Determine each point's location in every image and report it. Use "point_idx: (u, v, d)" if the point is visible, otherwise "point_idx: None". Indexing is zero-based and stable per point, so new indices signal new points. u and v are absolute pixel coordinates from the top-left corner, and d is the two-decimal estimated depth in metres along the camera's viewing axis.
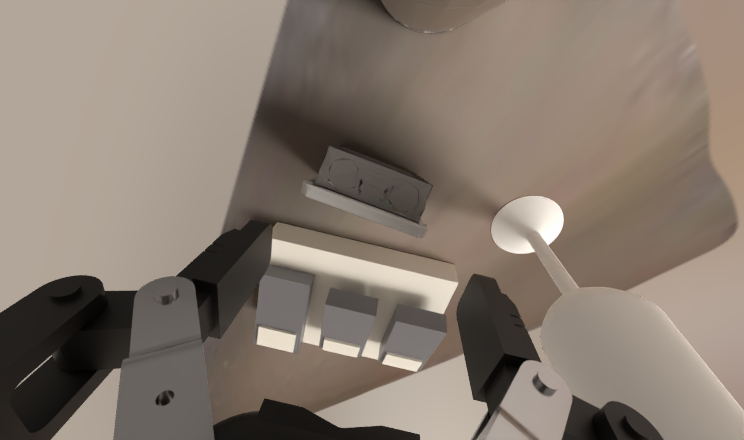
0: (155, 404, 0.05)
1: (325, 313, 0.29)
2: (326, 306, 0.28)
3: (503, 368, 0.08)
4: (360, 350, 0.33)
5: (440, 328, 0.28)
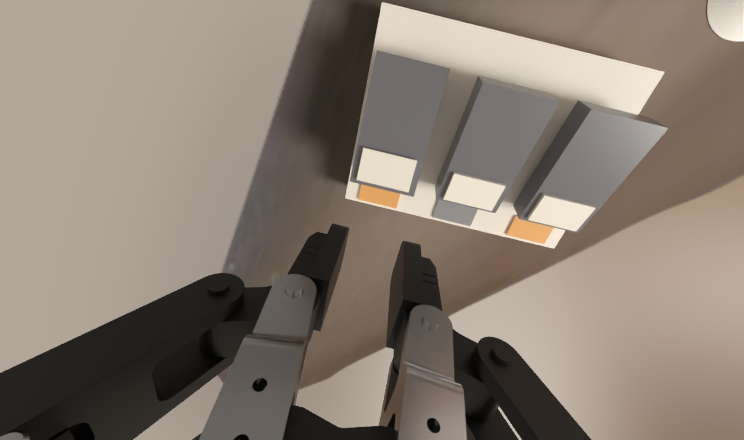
0: (252, 386, 0.05)
1: (475, 108, 0.19)
2: (483, 88, 0.18)
3: (405, 314, 0.09)
4: (501, 196, 0.23)
5: (655, 123, 0.19)
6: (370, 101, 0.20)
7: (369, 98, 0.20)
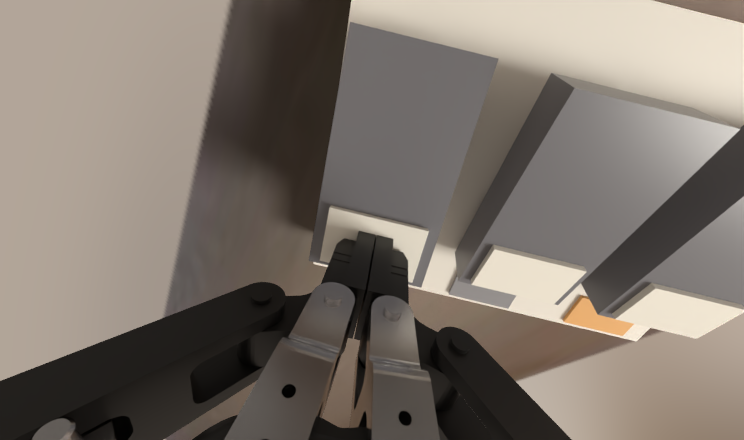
0: (282, 390, 0.05)
1: (549, 139, 0.09)
2: (574, 99, 0.09)
3: (370, 305, 0.09)
4: (573, 283, 0.13)
5: None
6: (340, 123, 0.11)
7: (338, 117, 0.11)
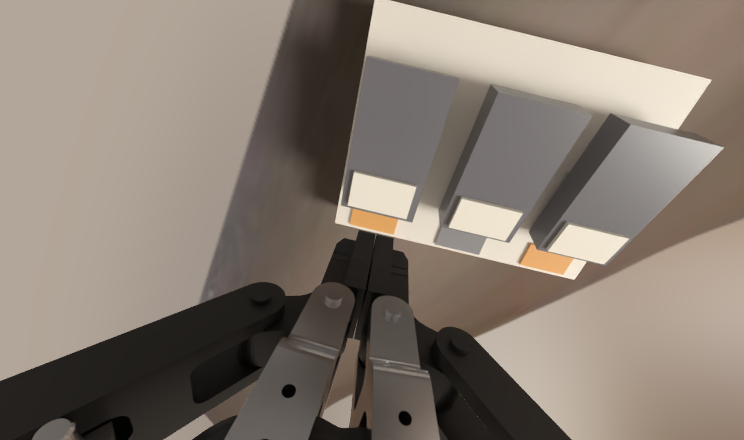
0: (281, 391, 0.05)
1: (488, 123, 0.16)
2: (499, 99, 0.15)
3: (371, 305, 0.09)
4: (516, 224, 0.19)
5: (707, 141, 0.15)
6: (360, 119, 0.17)
7: (359, 115, 0.17)
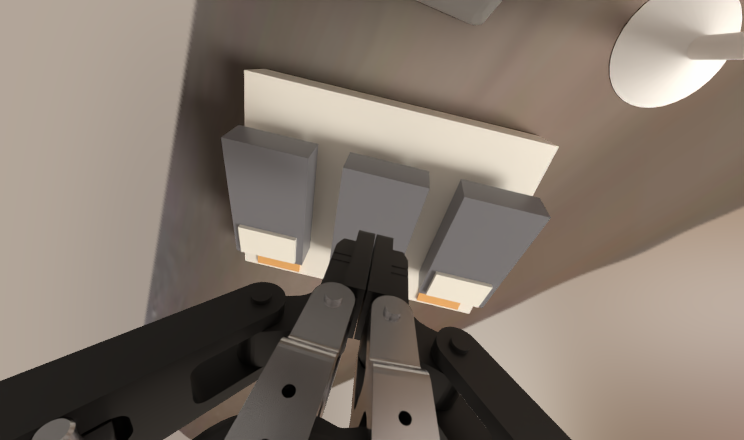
0: (282, 390, 0.05)
1: (342, 191, 0.17)
2: (345, 172, 0.16)
3: (370, 305, 0.09)
4: None
5: (538, 211, 0.17)
6: (232, 185, 0.18)
7: (230, 182, 0.18)
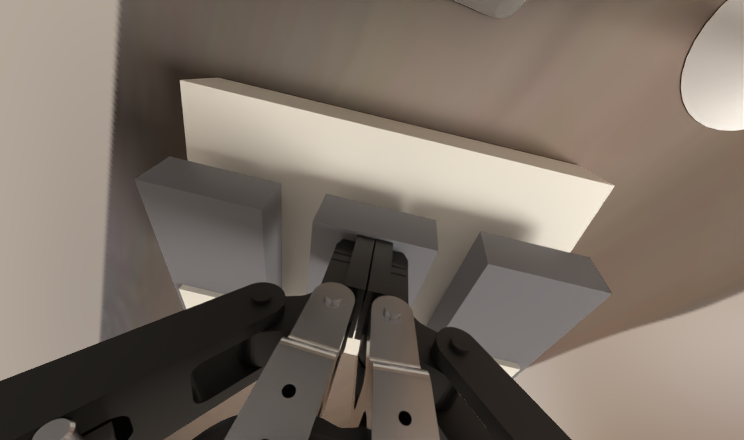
0: (282, 390, 0.05)
1: (314, 250, 0.12)
2: (316, 227, 0.11)
3: (370, 305, 0.09)
4: None
5: (593, 282, 0.12)
6: (162, 239, 0.13)
7: (159, 236, 0.13)
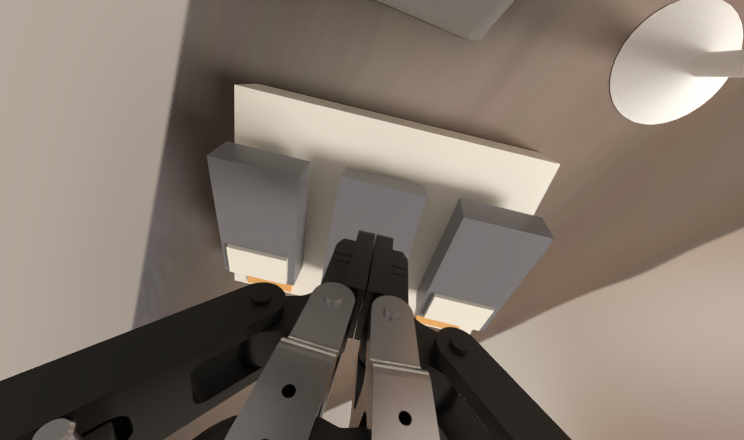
0: (282, 390, 0.05)
1: (338, 202, 0.17)
2: (342, 181, 0.16)
3: (371, 305, 0.09)
4: None
5: (541, 232, 0.16)
6: (219, 204, 0.17)
7: (217, 201, 0.17)
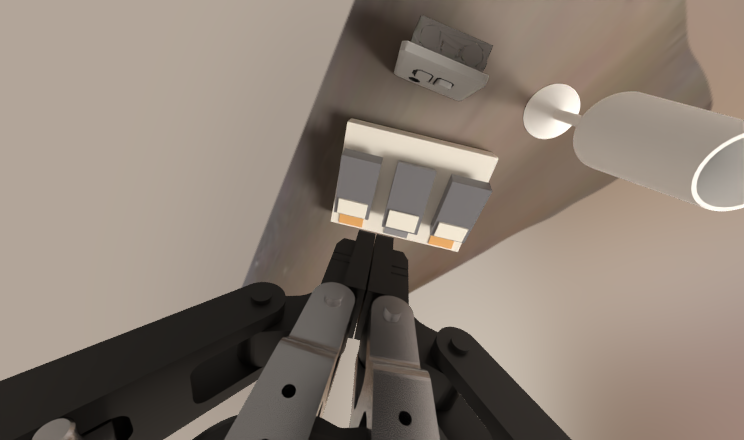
0: (281, 391, 0.05)
1: (396, 174, 0.37)
2: (398, 165, 0.37)
3: (371, 305, 0.09)
4: (418, 223, 0.39)
5: (486, 188, 0.36)
6: (340, 177, 0.37)
7: (340, 175, 0.37)
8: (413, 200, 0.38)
